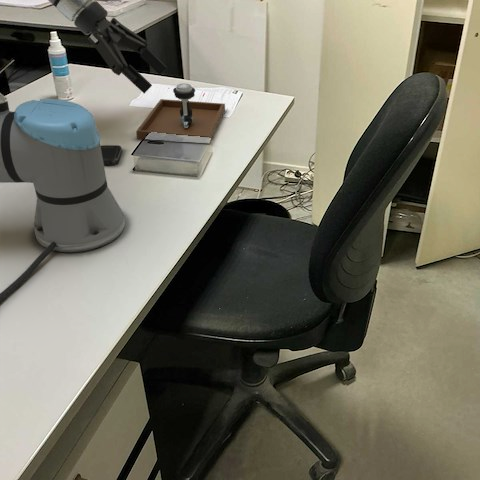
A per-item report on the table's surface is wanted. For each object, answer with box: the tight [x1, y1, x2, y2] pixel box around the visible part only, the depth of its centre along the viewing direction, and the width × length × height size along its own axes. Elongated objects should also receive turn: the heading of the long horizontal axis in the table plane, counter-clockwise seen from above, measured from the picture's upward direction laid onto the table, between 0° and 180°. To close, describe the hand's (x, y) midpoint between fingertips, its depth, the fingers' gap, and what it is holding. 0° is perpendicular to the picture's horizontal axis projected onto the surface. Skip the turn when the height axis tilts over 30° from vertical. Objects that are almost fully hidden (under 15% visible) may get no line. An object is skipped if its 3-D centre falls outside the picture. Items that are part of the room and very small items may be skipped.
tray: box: [136, 98, 226, 141], centre depth 142 cm, size 22×18×2 cm
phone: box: [100, 144, 123, 166], centre depth 124 cm, size 8×1×15 cm
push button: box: [172, 83, 196, 128], centre depth 139 cm, size 7×5×10 cm
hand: (156, 80), depth 135 cm, fingers open, 13 cm apart
